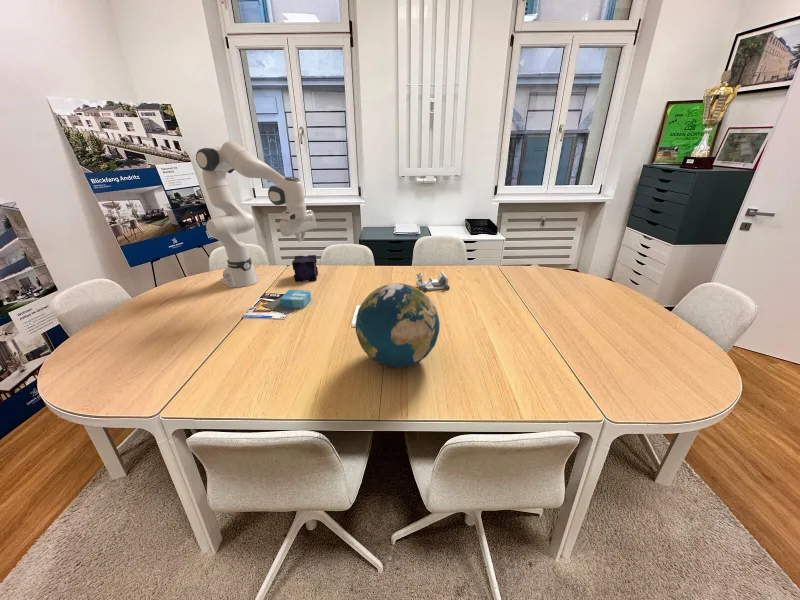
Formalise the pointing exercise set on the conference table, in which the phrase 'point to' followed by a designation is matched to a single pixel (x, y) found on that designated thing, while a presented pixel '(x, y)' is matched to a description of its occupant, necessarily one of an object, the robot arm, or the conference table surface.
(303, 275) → the energy cube
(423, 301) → the globe
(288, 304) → the light blue flat block
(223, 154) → the robot arm
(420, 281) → the toy car
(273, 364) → the conference table surface
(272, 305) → the mat
